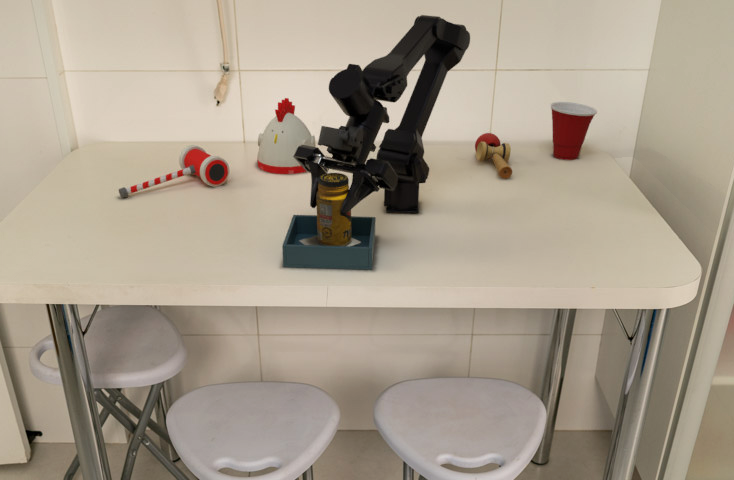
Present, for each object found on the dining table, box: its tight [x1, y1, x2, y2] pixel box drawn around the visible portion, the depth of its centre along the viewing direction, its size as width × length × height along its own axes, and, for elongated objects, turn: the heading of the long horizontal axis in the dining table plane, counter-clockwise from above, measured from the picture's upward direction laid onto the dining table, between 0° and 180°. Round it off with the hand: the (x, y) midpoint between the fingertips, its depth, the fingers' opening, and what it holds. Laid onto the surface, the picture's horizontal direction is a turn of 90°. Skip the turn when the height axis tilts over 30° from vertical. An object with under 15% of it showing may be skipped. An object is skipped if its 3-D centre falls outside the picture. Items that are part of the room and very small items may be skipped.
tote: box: [282, 214, 377, 271], centre depth 138 cm, size 15×14×4 cm
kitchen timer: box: [257, 97, 317, 175], centre depth 178 cm, size 14×14×15 cm
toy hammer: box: [118, 144, 230, 199], centre depth 167 cm, size 23×12×6 cm, turn 127°
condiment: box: [299, 172, 361, 246], centre depth 136 cm, size 7×8×12 cm
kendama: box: [474, 132, 513, 180], centre depth 180 cm, size 8×6×18 cm
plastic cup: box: [550, 101, 598, 161], centre depth 185 cm, size 11×11×12 cm
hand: (326, 210), depth 135 cm, fingers closed on condiment, 6 cm apart
